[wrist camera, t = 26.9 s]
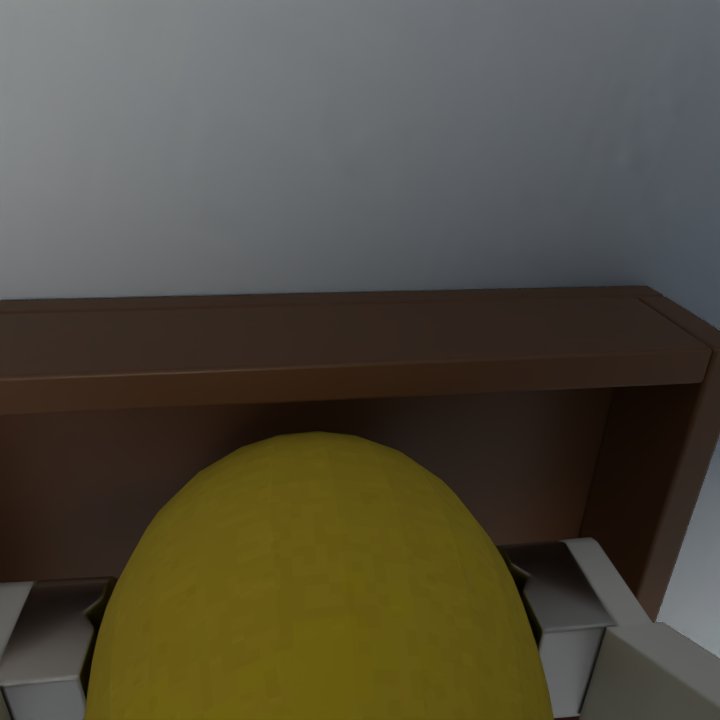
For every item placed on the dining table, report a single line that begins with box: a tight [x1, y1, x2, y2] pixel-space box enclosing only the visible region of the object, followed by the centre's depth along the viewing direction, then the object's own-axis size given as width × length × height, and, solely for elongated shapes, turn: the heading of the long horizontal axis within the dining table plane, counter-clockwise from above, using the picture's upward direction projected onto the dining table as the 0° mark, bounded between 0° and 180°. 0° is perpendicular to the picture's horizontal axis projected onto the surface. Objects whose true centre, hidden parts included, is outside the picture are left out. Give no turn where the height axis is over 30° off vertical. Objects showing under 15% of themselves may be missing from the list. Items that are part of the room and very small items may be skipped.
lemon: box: [84, 431, 554, 720], centre depth 8 cm, size 6×6×8 cm
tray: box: [0, 286, 720, 720], centre depth 13 cm, size 13×17×3 cm
